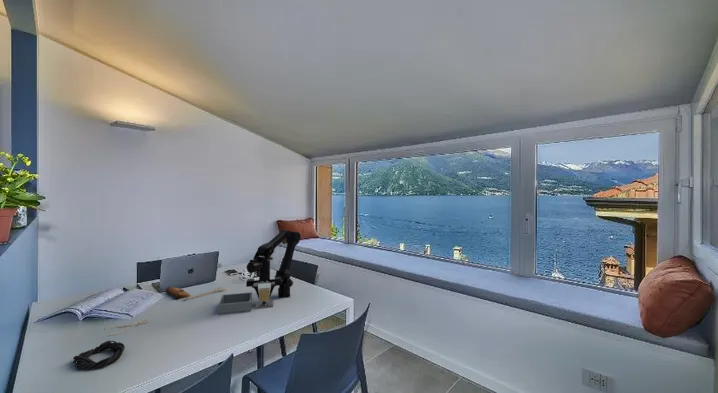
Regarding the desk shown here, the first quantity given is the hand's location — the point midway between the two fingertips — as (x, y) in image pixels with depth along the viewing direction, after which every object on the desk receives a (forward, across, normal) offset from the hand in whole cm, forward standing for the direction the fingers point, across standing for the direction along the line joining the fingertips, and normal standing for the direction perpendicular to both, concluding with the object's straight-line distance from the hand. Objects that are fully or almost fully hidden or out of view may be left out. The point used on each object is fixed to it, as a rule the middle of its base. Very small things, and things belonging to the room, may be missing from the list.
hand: (264, 297), depth 165 cm
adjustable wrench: (+5, +34, -27) cm, 44 cm away
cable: (+5, +58, +40) cm, 70 cm away
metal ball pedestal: (+4, 0, 0) cm, 4 cm away
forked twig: (+5, +59, +12) cm, 61 cm away
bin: (+4, +14, 0) cm, 15 cm away
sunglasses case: (+5, +50, -31) cm, 58 cm away
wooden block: (+1, 0, 0) cm, 1 cm away
